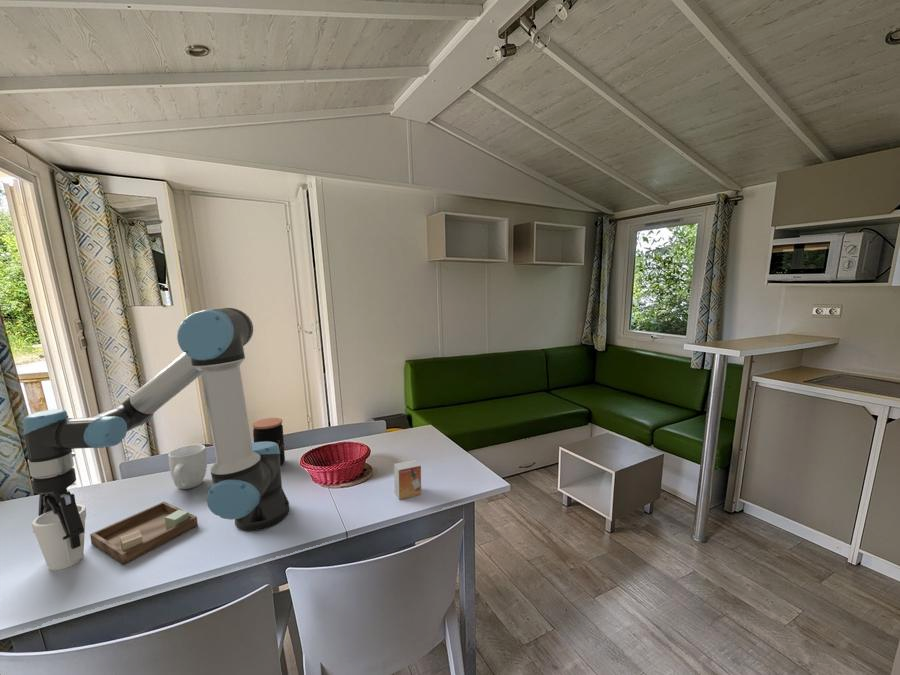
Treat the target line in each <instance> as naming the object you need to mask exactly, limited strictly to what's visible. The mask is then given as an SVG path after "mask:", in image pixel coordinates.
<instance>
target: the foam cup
mask: <svg viewBox="0 0 900 675" xmlns="http://www.w3.org/2000/svg"><path fill="white" fill-rule="evenodd" d="M76 506H77V509H78V512H79V515H80V518H81V521H82V524H83V527H84V529H86V517H87V510H86V505H84V504H77V503H76ZM31 526H32V528H31V529H32V534H34V535H35V537H36V540H37V543H38V546H39V548H40V550H41V552H42V553H41V554H42V555H43V558H44V561H45V564H46V566H47V568H48V570H50V571H52V572H54V571H61V570H64V569H67V568H69V567H71V566H74V565H75V564H77V563H80V561H81V560H82V559H83V558H84V556H82V557H80V558H78V559H76V560H74V561H71V562H68V558H67V551H66V544H65V540H63V539H62V538H63V537H64V536H66V534H65V531H64V529H63V527H62V524H61V522H60V519H59V517H58V515H57V514H54V513H53V510H51V511H48V512H46V513H44V514H42V515H40V516H39V515H38V516H37V517H36V518H35V519H33V521H32V523H31ZM85 533H86V532H85V531H84V532H83V533H81V539H82V546H83V553H85V552H84V550H85Z"/></svg>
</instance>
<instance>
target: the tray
mask: <svg viewBox="0 0 900 675" xmlns="http://www.w3.org/2000/svg"><path fill="white" fill-rule="evenodd" d="M177 510H182V511H185V510H183V509H182V508H179V507H177V506H175V505H172V504H170V503H169V502H166V501H162V502H159V503H158V504H155V505H152V506H151V507H148V508H146V509H144V510H142V511H139V512H138V513H135V514H132V515H130V516H128V517H126V518H124V519H121V520H119V521H117V522H115V523H111V524H109V525H107V526H105V527H103V528H101V529H98V530H96V531H94V532H92V533H90V535H89V537H90V543H91V545H92V546H93V547H95V548H97V549H98V550H99V551H101V552H102V553H104V554H106V555H107V556H108V557H110V558H112V560H114V561H115V562H118V563H119V564H120V565H121V566H125V565H127V564H128V563H129V564H130V563H131V562H132V561H135V560H136V559H138V558H140V557H142V556H144V555H146V554H148V553H149V552H152V551H153V550H155V549H157V548H159V547H161V546H163V545H165V544H166V543H168V542H171V541H172V540H174V539H176V538H178V537H181V535H184V534H186V533H188V532H189V531H191V530H193V529H195V528H196V527H198V526H199V525H198V516H197V515H194V514H192V513H190V512H189V519H188V520H186V521H184V522H182V523H180V524H178V525H176V526H174V527H172V528H170V529H168V530H166V524H165V517H166V516H168V515H170V514H172V513H174V512H175V511H177ZM138 530H140V532H141V535H142V539H143V543H141V544H139V545H137V546H135V547H133V548H131V549H129V550H127V551H125V552H124V551H122V549H121V541H120V537H122V536H124V535H127V534H130V533H132V532H135V531H138Z"/></svg>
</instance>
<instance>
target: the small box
mask: <svg viewBox="0 0 900 675" xmlns="http://www.w3.org/2000/svg"><path fill="white" fill-rule="evenodd" d="M393 468H394V469H393V472H394V473H393V474H394V478H393V479H394V480H393V481H394V482H393V483H394V493H395V495H396V497H397V498H398V500H404V499H407V498H411V497H417V496H421V495H422V466H421V464H420V463H419V461H417V459H413V460H408V461H402V462H396V463H393Z"/></svg>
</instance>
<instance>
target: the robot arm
mask: <svg viewBox="0 0 900 675" xmlns="http://www.w3.org/2000/svg"><path fill="white" fill-rule="evenodd" d="M253 334H254V324H253V322H252V319H251V318H250V316H249V315H248V314H246V313H245V312H244V311H242V310H240V309H237V308H234V307H224V308H216V309H215V308H212V309H211V308H207V309H201V310H200V311H196V312H193V313H190V315H188V316H186V317H185V318H184V319H183V321H182V322H181V323H180V324H179V326H178V329H177V337H176V338H177V344H178V346H179V348H180V350H181V351H182V353H181V354H180V355H179V356H178V357H176V358H175V359H174V360H173V361H171V362H170V363H169V364H167V366H165V367H164V368H163V369H162V370H160V371H159V372H158V373H157V374H155V375H154V376H153V377H152V378H151V379H149V380H148V381H147V382H146V383H145V384H143V385H142V386H141V387H139V388H138V389H137V390H136V391H134V392H133V393H132V394H131V395H130V396H129V397H127V398H126V399H125V400H124V401H123V402H122V403H120V404H118V405H117V406H114V407H112V408H110V409H109V408H108V410H105V411H103V412H102V411H101V412H100V413H97V414H95V415H93V416H89V417H74V418H73V417H69V415H68V412H67V410H65V409H61V408H53V409H46V410H41V411H40V410H39V411H37V412H34V413H30V414H28V415H26V416H25V417H24V418H23V422H22V423H23V424H22V425H23V433H22V434H23V437H24V442H25V444H26V445H25V446H26V452H27V457H28V458H27V459H28V460H27V463H28V469H29V474H30V477H32V478H31V479H30V480H31V485H32V491H33V493H34V494H39V500H38V517H39V516H40V515H42V514H44V513H46V512H48V511H51V510H53V513H54V514H57V515H58V517H59V519H60V522H61V524H62V527H63V529H64V531H65V534H66V536H64V537H63V538H62V539H63V540H65V544H66V551H67V558H68V562H71V561H74V560H76V559H78V558H80V557H82V556H83V557H84V556H85V555H84V553H85V552H84V553H83V546H82V539H81V533H83V532H84V531H85V529H86V528H85V529H84V527H83V524H82V521H81V518H80V515H79V512H78V509H77V506H76V504H77V502H76V497H75V496H76V495H75V494H74V493H71V491H70V490H68V488H69V487H70V486H72V485H73V484H75V482H76V481H77V475H76V468H74V466H75V463H74V457H75V456H76V453H75V452H73V450H75V449H76V450H77V449H103V448H108V447H115V446H117V445H119V444H121V443H122V441H123V439H124V438H125V437H126V435H127V432H130V431H131V430H134V429H135V428H138V427H140V426H143V425H145V423H148V421H150V420H151V418H153V416H154V414H155V413H156V412H158V410H160V409H161V408H162V407H163V406H164V405H166V404H167V403H168V402H169V401H170V400H172V399H173V398H174V397H175V396H176V395H178V394H179V393H180V392H182V390H184V389H185V388H186V387H187V386H189V385H190V384H192V383H193V382H194V381H195V380H197V378H199V377H200V376H201V381H202V382H201V383H202V386H203V388H202V389H203V392H204V399H205V404H206V410H207V416H208V422H209V427H210V428H209V429H210V433H211V440H212V445H213V452H214V456H215V462H214V463H213V465H212V466H211V467H210V474H211V476H210V477H211V480H212V486H211V487H210V489H208V493H207V496H206V505H207V507H208V509H209V510H210V512H211V513H212V514H214V515H215V516H218V517H220V518H221V519H224V520H230V521H231V520H232V521H233V520H234V525H235V527H236V528H237V529H238V530H241V531H244V532H255V531H262V530H265V529H269V528H271V527H273V526H275V525H278V524H279V523H280V522H282V521H283V520H285V519H286V518H287V516H288V515H289V513H290V501H289V499H288V497H287V496H286V493H285V492H284V489H283V486H282V485H283V484H282V483H283V482H282V470H281V469H282V468H281V467H282V466H280V451H279V446H278V444H277V443H275V442H255V443H254V442H252V437H251V436H252V435H251V430H250V424H249V417H248V412H247V411H248V410H247V405H246V397H245V393H244V387H243V380H242V373H241V367H240V366H241V364H242V363H243V362H244V361H245V360H246V356H245V350H244V349H245V348H244V346H246V345H247V344H249V342H250V341H251V339H252V337H253Z"/></svg>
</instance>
